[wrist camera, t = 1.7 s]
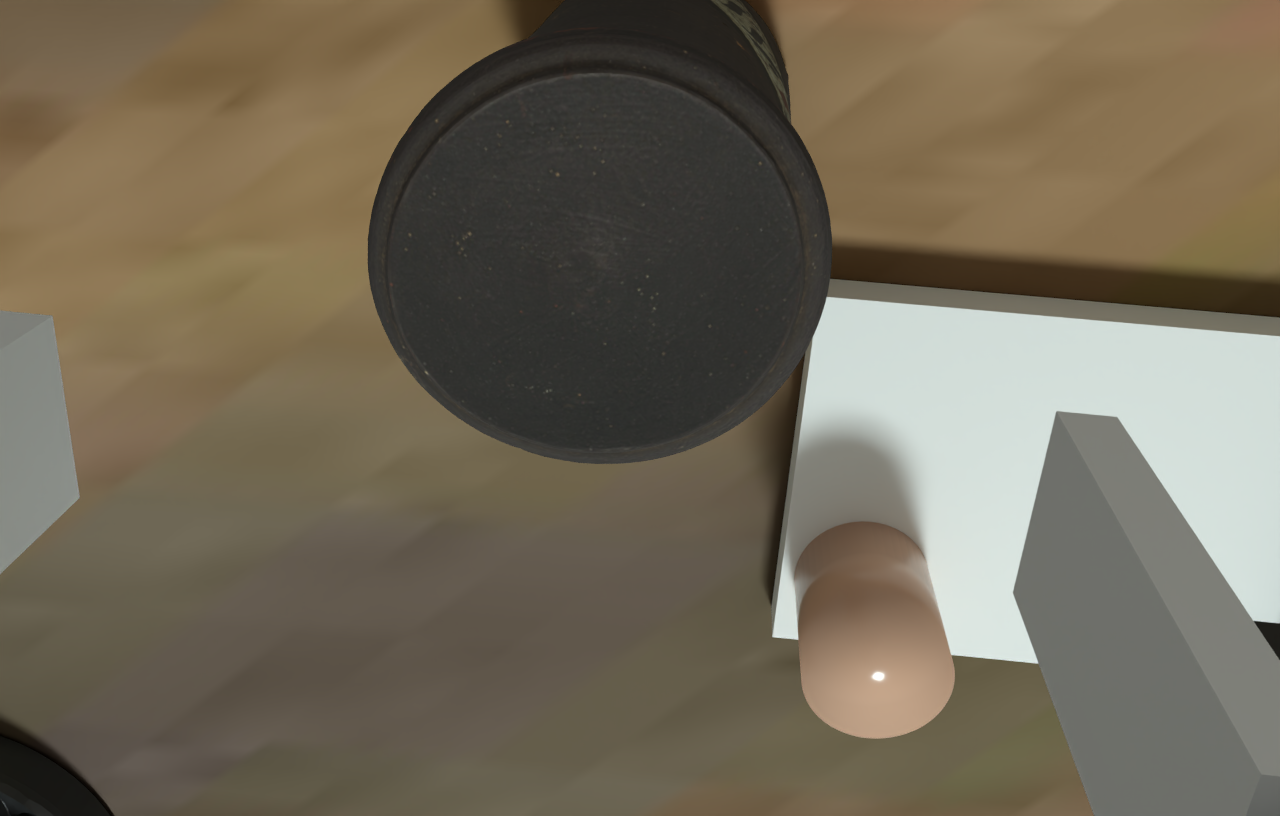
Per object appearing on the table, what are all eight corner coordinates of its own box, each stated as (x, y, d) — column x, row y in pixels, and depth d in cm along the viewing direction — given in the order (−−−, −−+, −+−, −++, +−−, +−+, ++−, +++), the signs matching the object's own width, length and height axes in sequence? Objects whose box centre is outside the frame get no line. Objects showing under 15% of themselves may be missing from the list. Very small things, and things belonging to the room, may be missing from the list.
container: (783, 223, 41) (815, 505, 23) (527, 211, 42) (363, 479, 24) (804, -43, 38) (860, 47, 20) (523, -52, 38) (326, 28, 20)
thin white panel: (771, 607, 48) (773, 665, 45) (815, 277, 42) (821, 314, 39) (1280, 657, 47) (1322, 720, 44) (1397, 327, 41) (1458, 370, 38)
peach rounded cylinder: (786, 627, 46) (792, 730, 40) (802, 515, 44) (811, 607, 38) (916, 640, 46) (940, 745, 40) (939, 528, 44) (967, 623, 38)
